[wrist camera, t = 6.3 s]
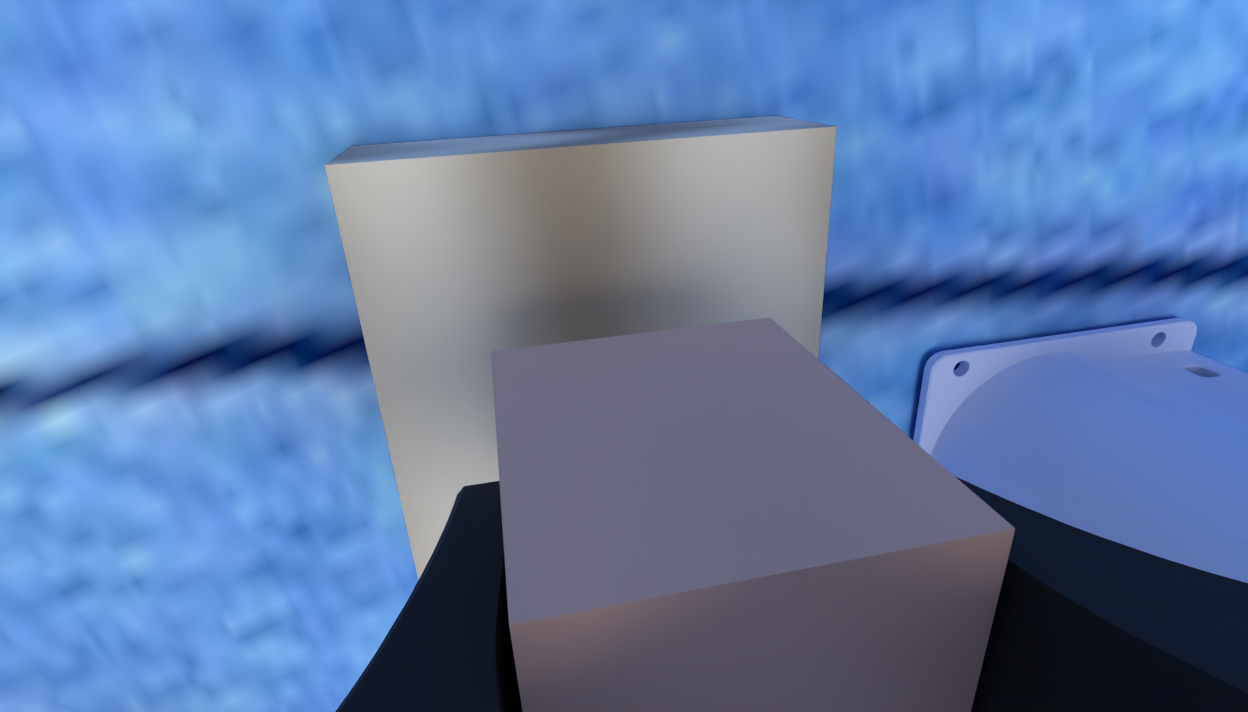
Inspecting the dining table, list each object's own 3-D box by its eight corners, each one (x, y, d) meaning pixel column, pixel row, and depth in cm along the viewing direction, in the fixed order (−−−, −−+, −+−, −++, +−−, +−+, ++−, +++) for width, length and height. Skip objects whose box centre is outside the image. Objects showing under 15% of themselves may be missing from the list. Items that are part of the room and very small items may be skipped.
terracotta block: (769, 317, 11) (1014, 528, 6) (759, 537, 13) (939, 837, 8) (490, 351, 10) (508, 624, 5) (522, 579, 12) (557, 941, 7)
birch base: (777, 115, 16) (837, 126, 14) (761, 459, 21) (805, 519, 18) (350, 145, 15) (324, 165, 12) (427, 514, 19) (420, 589, 16)
